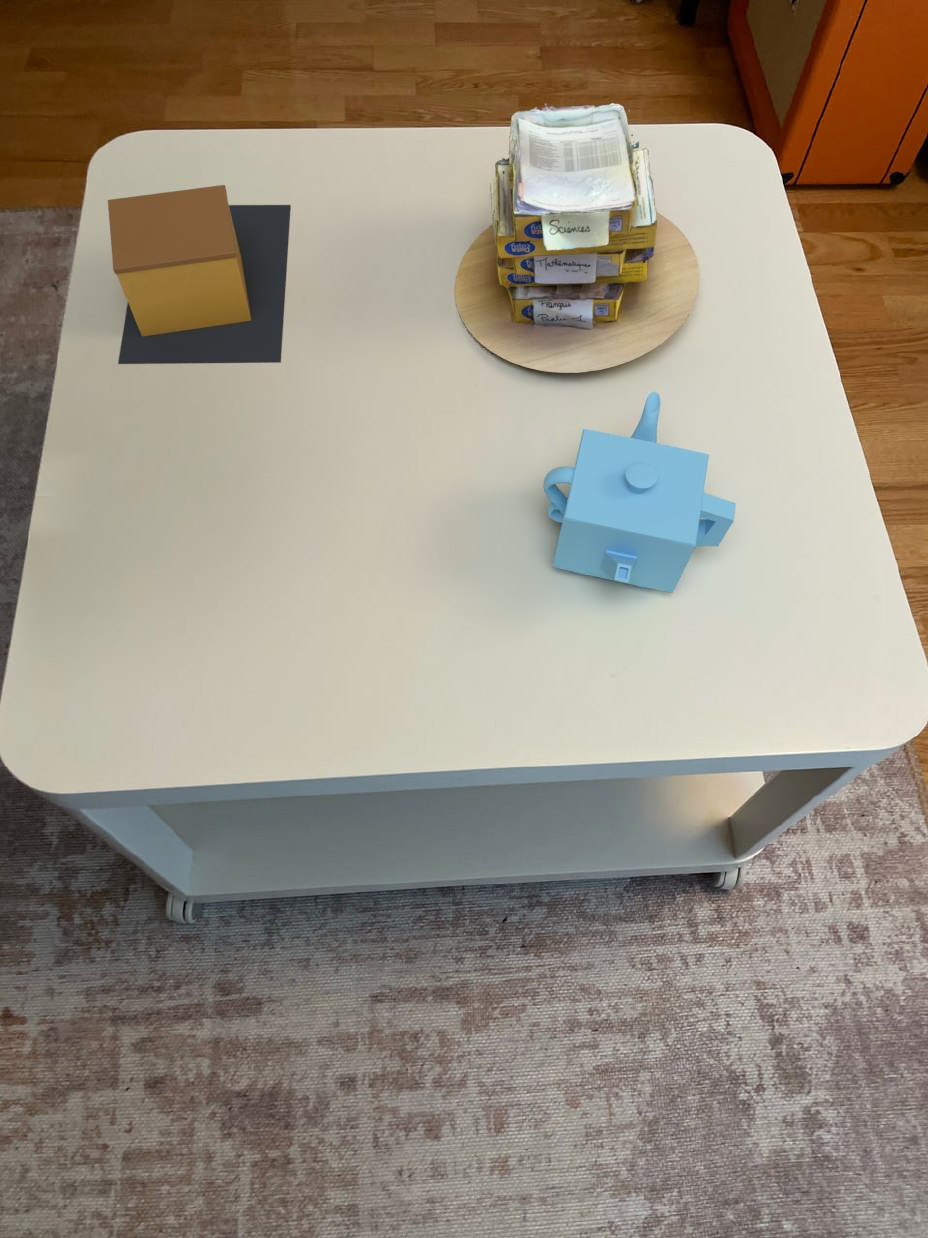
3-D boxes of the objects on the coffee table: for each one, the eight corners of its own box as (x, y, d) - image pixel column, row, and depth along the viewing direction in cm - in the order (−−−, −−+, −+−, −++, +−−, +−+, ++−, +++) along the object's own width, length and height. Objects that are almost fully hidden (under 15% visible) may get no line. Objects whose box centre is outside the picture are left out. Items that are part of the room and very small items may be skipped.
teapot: (517, 606, 82) (528, 541, 72) (555, 443, 90) (570, 363, 80) (695, 645, 81) (732, 585, 71) (719, 476, 89) (755, 400, 79)
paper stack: (425, 352, 94) (423, 216, 79) (490, 186, 105) (499, 39, 90) (665, 411, 92) (710, 283, 77) (708, 235, 102) (755, 92, 87)
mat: (118, 364, 93) (117, 363, 93) (143, 206, 102) (143, 205, 102) (280, 363, 94) (280, 362, 93) (290, 205, 103) (290, 204, 103)
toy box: (252, 321, 96) (235, 252, 87) (141, 338, 94) (113, 269, 86) (242, 256, 99) (224, 184, 91) (134, 271, 98) (107, 199, 90)
